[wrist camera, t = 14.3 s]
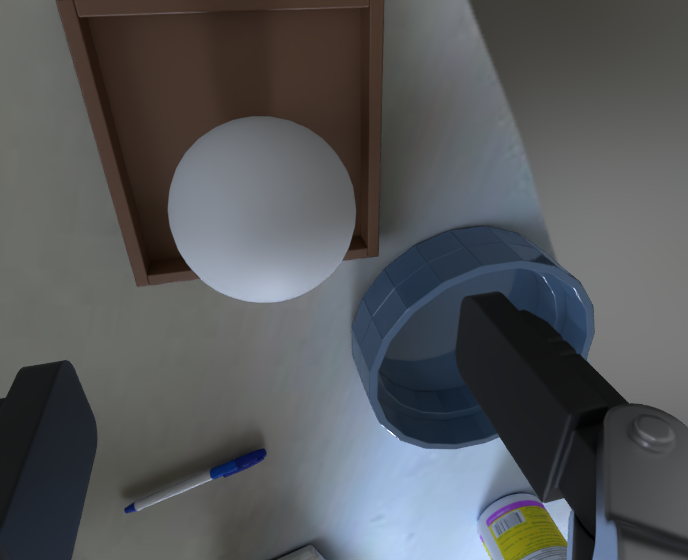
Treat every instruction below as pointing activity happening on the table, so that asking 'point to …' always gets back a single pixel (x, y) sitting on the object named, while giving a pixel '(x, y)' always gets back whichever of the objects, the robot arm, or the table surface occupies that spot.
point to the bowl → (452, 328)
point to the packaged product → (304, 554)
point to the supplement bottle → (520, 530)
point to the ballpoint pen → (200, 479)
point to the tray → (223, 97)
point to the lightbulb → (262, 209)
